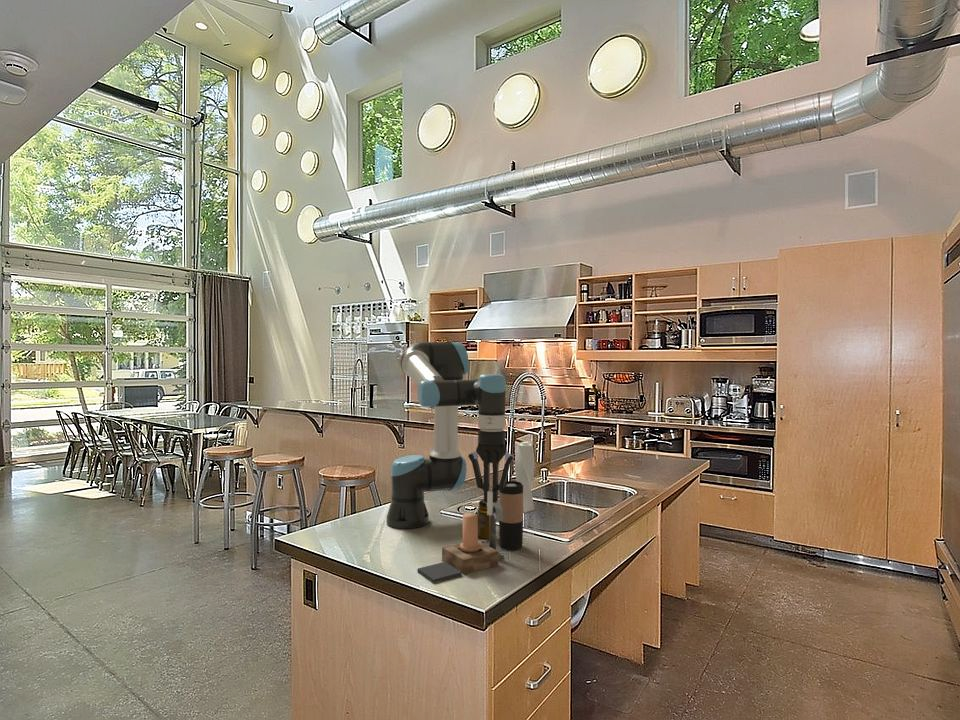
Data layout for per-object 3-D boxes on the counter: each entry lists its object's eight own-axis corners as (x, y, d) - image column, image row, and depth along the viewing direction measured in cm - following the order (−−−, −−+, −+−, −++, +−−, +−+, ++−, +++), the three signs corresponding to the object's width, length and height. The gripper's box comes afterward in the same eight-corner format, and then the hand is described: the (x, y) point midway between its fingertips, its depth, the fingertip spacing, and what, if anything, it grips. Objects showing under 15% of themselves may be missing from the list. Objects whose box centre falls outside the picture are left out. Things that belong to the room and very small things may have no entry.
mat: (417, 572, 161) (417, 568, 161) (445, 565, 166) (445, 561, 166) (433, 583, 153) (433, 579, 153) (461, 575, 158) (461, 572, 158)
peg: (456, 561, 168) (456, 514, 168) (473, 557, 172) (473, 511, 171) (467, 568, 163) (467, 519, 163) (484, 563, 167) (484, 516, 166)
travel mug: (494, 547, 180) (494, 484, 179) (506, 540, 186) (507, 479, 186) (515, 552, 176) (515, 488, 175) (527, 545, 182) (527, 483, 181)
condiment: (501, 538, 189) (501, 502, 189) (479, 542, 184) (479, 506, 184) (488, 532, 195) (488, 497, 195) (467, 536, 190) (467, 500, 190)
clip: (493, 520, 157) (493, 509, 157) (485, 504, 173) (485, 494, 173) (506, 520, 158) (506, 509, 158) (497, 504, 173) (497, 494, 173)
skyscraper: (540, 510, 219) (540, 438, 219) (526, 515, 214) (526, 440, 213) (523, 506, 226) (524, 435, 225) (509, 510, 220) (510, 437, 219)
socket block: (442, 560, 169) (442, 509, 169) (487, 549, 178) (488, 500, 178) (463, 574, 159) (463, 519, 159) (511, 561, 168) (511, 510, 168)
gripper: (465, 430, 157) (464, 515, 158) (512, 432, 155) (511, 519, 155) (472, 426, 165) (471, 508, 165) (516, 428, 162) (515, 511, 162)
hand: (490, 513), depth 160 cm, fingers closed
